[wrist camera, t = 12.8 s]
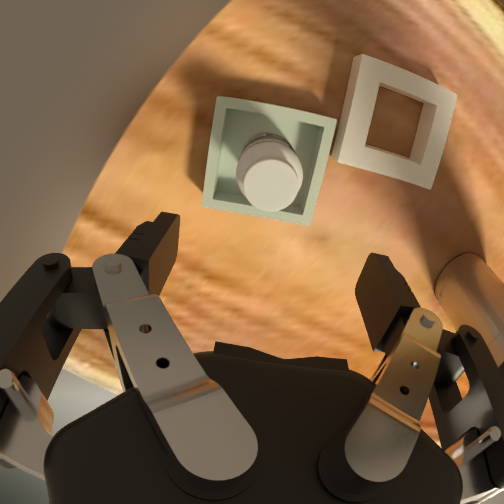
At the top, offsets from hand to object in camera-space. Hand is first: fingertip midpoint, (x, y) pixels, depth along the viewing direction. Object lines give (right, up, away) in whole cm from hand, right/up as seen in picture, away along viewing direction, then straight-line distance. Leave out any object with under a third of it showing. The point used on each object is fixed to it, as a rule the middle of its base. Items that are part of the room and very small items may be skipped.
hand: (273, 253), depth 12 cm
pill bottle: (+1, +10, +17) cm, 20 cm away
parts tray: (+1, +10, +18) cm, 20 cm away
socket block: (+14, +14, +15) cm, 24 cm away
